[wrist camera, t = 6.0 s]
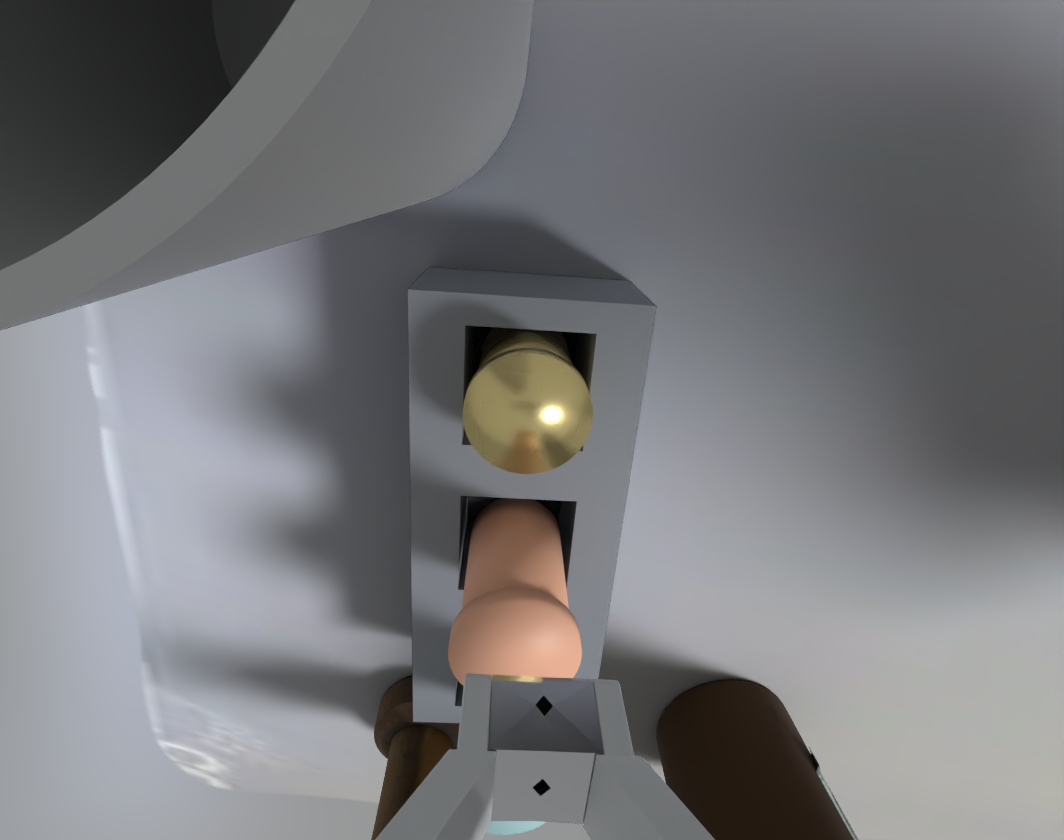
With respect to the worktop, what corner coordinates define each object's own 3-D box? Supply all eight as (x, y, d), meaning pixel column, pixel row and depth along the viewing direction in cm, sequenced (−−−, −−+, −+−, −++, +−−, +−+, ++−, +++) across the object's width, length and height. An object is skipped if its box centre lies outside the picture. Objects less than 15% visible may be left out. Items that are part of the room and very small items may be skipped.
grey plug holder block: (630, 280, 29) (656, 305, 23) (580, 647, 38) (590, 726, 33) (428, 266, 28) (407, 289, 23) (428, 641, 38) (413, 721, 32)
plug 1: (579, 311, 28) (600, 357, 21) (569, 405, 30) (585, 477, 23) (477, 304, 28) (464, 349, 21) (474, 400, 30) (460, 470, 23)
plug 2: (570, 493, 28) (588, 605, 21) (561, 578, 30) (574, 706, 23) (466, 488, 28) (448, 599, 20) (463, 573, 30) (446, 702, 22)
